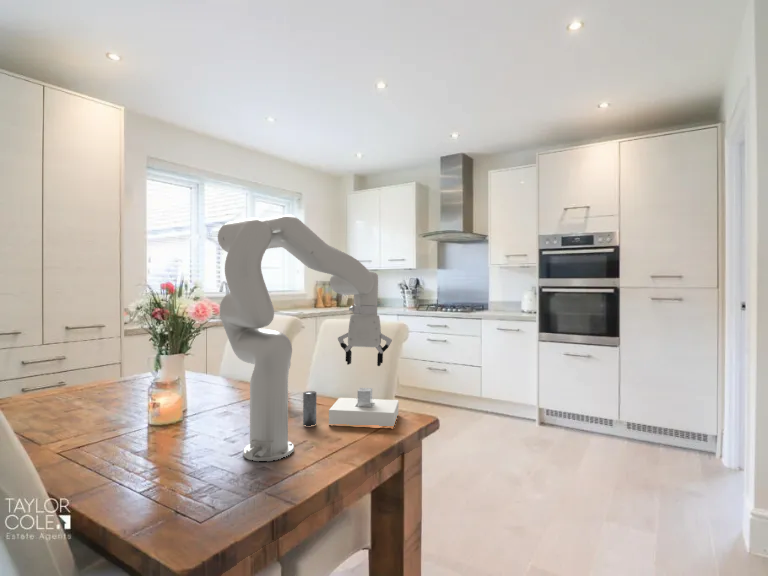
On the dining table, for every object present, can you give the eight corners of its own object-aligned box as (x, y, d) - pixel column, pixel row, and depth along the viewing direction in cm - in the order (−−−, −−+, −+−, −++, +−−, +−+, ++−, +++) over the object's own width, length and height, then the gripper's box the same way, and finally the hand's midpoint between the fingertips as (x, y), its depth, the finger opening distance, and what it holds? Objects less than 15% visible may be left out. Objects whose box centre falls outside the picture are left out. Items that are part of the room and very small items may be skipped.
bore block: (393, 429, 130) (393, 412, 130) (328, 426, 132) (328, 409, 132) (398, 415, 143) (398, 400, 143) (339, 412, 146) (339, 397, 146)
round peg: (314, 427, 131) (314, 394, 131) (301, 427, 131) (301, 394, 131) (317, 423, 135) (318, 391, 135) (305, 422, 135) (305, 390, 135)
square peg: (370, 423, 135) (370, 391, 135) (357, 422, 136) (357, 390, 135) (372, 419, 139) (372, 388, 139) (359, 418, 140) (359, 387, 139)
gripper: (335, 310, 135) (334, 365, 135) (391, 312, 132) (389, 368, 132) (341, 309, 142) (340, 361, 142) (393, 311, 140) (392, 364, 140)
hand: (364, 364), depth 137 cm, fingers open, 9 cm apart
